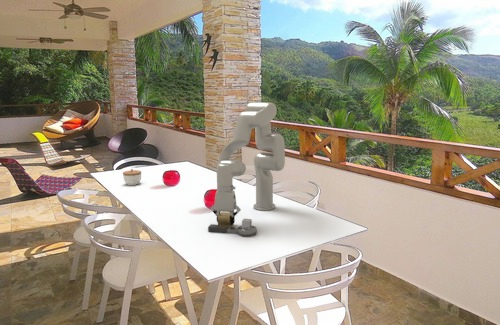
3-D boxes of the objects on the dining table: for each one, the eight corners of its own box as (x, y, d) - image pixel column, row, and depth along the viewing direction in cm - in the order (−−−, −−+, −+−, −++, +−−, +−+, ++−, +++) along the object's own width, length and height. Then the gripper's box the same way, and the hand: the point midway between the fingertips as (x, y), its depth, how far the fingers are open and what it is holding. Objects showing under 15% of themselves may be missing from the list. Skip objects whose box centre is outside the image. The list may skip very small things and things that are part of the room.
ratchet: (212, 227, 195) (212, 214, 194) (258, 230, 190) (258, 217, 188) (206, 233, 187) (205, 220, 186) (254, 237, 181) (253, 223, 180)
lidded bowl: (120, 185, 286) (118, 169, 284) (134, 181, 296) (133, 167, 294) (131, 187, 279) (130, 171, 277) (145, 183, 289) (144, 168, 287)
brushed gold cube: (222, 223, 201) (221, 211, 200) (233, 224, 199) (233, 212, 198) (218, 227, 195) (217, 215, 194) (229, 228, 194) (229, 216, 193)
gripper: (244, 187, 195) (244, 222, 199) (210, 185, 200) (211, 220, 203) (239, 191, 188) (240, 227, 191) (205, 189, 193) (206, 225, 196)
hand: (225, 223), depth 197 cm, fingers closed on brushed gold cube, 6 cm apart
